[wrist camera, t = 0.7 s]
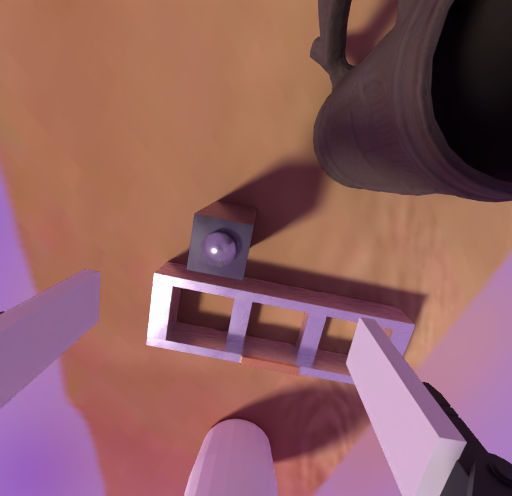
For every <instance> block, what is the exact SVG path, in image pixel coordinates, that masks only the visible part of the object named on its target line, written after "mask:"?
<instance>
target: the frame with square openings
mask: <svg viewBox="0 0 512 496" xmlns="http://www.w3.org/2000/svg"><path fill="white" fill-rule="evenodd" d="M181 288H185V289H190V290H195V291H200V292H205V293H210V294H216V295H221V296H226V297H231V298H235V300H234V305H233V310H232V315H231V320H230V326H229V331H223V330H217V329H212V328H207V327H202V326H197V325H192V324H186V323H181V322H177V315H178V308H179V301H180V294H181ZM252 302H256V303H261V304H266V305H271V306H277V307H282V308H287V309H292V310H297V311H302V312H305V313H304V317H303V321H302V324H301V328H300V332H299V335H298V339H297V343H296V345H295V344H290V343H284V342H279V341H274V340H269V339H264V338H259V337H253V336H248V335H245V334H246V329H247V325H248V320H249V316H250V311H251V306H252ZM326 317H332V318H338V319H343V320H348V321H353V322H358V321H359V318H360V317H363V318H369V319H375V321H376V322H377V323H378V325H379V326H380V327H381V329H382V330H383V331H384V333H385V334H386V335H387V337H388V338H389V339H390V341H391V342H392V343H393V345H394V346H395V347H396V349H397V350H398V351H399V353H400V354H401V355H402V357H403V355H404V353H405V350H406V348H407V345H408V343H409V340H410V337H411V335H412V332H413V330H414V327H415V324H414V323H413V322H412V321H411V320H410V319H409V318H408V317H407V316H406V315H405V314H404V313H403V312H402V311H401V310H400V309H399V308H398V307H395V306H390V305H385V304H380V303H375V302H369V301H364V300H359V299H354V298H349V297H344V296H339V295H334V294H329V293H324V292H319V291H314V290H309V289H304V288H299V287H294V286H289V285H284V284H279V283H274V282H269V281H264V280H259V279H254V278H249V277H244V278H243V281H242V280H237V279H232V278H227V277H222V276H217V275H212V274H207V273H201V272H196V271H191V270H187V265H183V264H178V263H173V262H168V261H167V262H166V263H165V264H164V265H163V266H162V267H161V268H160V269H159V270H157V271H156V272H155V273H154V281H153V290H152V299H151V308H150V317H149V326H148V335H147V344H146V345H150V346H156V347H161V348H166V349H171V350H176V351H182V352H187V353H192V354H197V355H202V356H208V357H213V358H218V359H223V360H229V361H234V362H239V363H240V365H245V366H250V367H256V368H261V369H266V370H271V371H276V372H282V373H287V374H292V375H297V376H298V374H302V375H307V376H312V377H317V378H323V379H328V380H333V381H338V382H343V383H349V384H354V381H353V379H352V377H351V374H350V372H349V370H348V367H347V365H346V361H347V358H348V355H346V354H341V353H336V352H331V351H326V350H320V349H317V348H318V344H319V341H320V338H321V334H322V331H323V327H324V324H325V321H326ZM354 385H355V384H354Z"/></svg>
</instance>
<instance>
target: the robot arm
mask: <svg viewBox="0 0 512 496" xmlns="http://www.w3.org/2000/svg"><path fill="white" fill-rule="evenodd" d="M99 301H100V272H98V271H93V270H87V269H84V270H83V271H81V272H79V273H77V274H75V275H73V276H71V277H69V278H68V279H66V280H64V281H62V282H60V283H58V284H56V285H54V286H53V287H51V288H49V289H47V290H45V291H43V292H41V293H39V294H38V295H36V296H34V297H32V298H30V299H28V300H26V301H25V302H23V303H21V304H19V305H17V306H15V307H13V308H11V309H10V310H8V311H6V312H4V311H3V312H0V409H1V408H2V407H3V406H4V405H5V404H6V403H7V402H9V401H10V400H11V399H12V398H13V397H14V396H15V395H16V394H18V393H19V392H20V391H21V390H22V389H23V388H24V387H25V386H27V385H28V384H29V383H30V382H31V381H32V380H33V379H34V378H35V377H37V376H38V375H39V374H40V373H41V372H42V371H43V370H44V369H46V368H47V367H48V366H49V365H50V364H51V363H52V362H53V361H55V360H56V359H57V358H58V357H59V356H60V355H61V354H62V353H64V352H65V351H66V350H67V349H68V348H69V347H70V346H71V345H73V344H74V343H75V342H76V341H77V340H78V339H79V338H80V337H82V336H83V335H84V334H85V333H86V332H87V331H88V330H89V329H90V328H92V327H93V326H94V325H95V324H96V323H97V322H98V321H99ZM346 365H347V367H348V370H349V372H350V374H351V377H352V379H353V381H354V384H355V386H356V388H357V391H358V393H359V395H360V398H361V400H362V402H363V405H364V407H365V409H366V412H367V414H368V416H369V419H370V421H371V423H372V426H373V428H374V431H375V433H376V435H377V438H378V440H379V442H380V444H381V447H382V449H383V452H384V454H385V456H386V459H387V461H388V463H389V466H390V468H391V470H392V473H393V475H394V477H395V480H396V482H397V484H398V487H399V489H400V492H401V494H402V496H512V464H511V463H509V462H508V461H506V460H505V459H502V458H500V457H498V456H497V455H494V454H491V453H488V452H487V451H486V449H485V448H484V447H483V446H482V444H481V443H480V442H479V441H478V439H477V438H476V437H475V436H474V434H473V433H472V432H471V431H470V429H469V428H468V427H467V426H466V424H465V423H464V422H463V421H462V419H461V418H459V417H458V414H457V413H456V412H455V411H454V409H453V408H451V407H450V404H449V403H448V402H447V401H446V400H445V398H444V397H443V396H442V394H441V393H439V392H438V391H437V390H436V389H435V388H434V387H432V386H431V385H430V384H429V383H425V382H421V380H420V379H419V378H418V376H417V375H416V374H415V372H414V371H413V370H412V369H411V367H410V366H409V365H408V363H407V362H406V361H405V359H404V358H403V357H402V355H401V354H400V353H399V351H398V350H397V349H396V347H395V346H394V345H393V343H392V342H391V341H390V339H389V338H388V337H387V335H386V334H385V333H384V331H383V330H382V329H381V327H380V326H379V325H378V323H377V322H376V321H375V319H369V318H363V317H360V318H359V321H358V325H357V328H356V331H355V334H354V338H353V341H352V344H351V348H350V351H349V354H348V358H347V361H346Z"/></svg>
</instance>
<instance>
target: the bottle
mask: <svg viewBox="0 0 512 496" xmlns="http://www.w3.org/2000/svg"><path fill="white" fill-rule="evenodd" d="M184 496H278V490H277V482H276V477H275V471H274V465H273V460H272V454H271V448H270V444H269V439H268V438H267V436H266V434H265V433H264V431H263V430H262V429H261V428H259V427H258V426H257V425H255V424H254V423H252V422H249V421H247V420H242V419H229V420H225V421H223V422H220V423H218V424H217V425H215V426H214V427H213V428H212V429H211V430H210V431H208V433H207V435H206V437H205V439H204V441H203V444H202V446H201V449H200V451H199V454H198V457H197V459H196V462H195V464H194V467H193V469H192V472H191V474H190V477H189V481H188V484H187V487H186V491H185V494H184Z"/></svg>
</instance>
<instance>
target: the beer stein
mask: <svg viewBox="0 0 512 496" xmlns="http://www.w3.org/2000/svg"><path fill="white" fill-rule="evenodd" d="M351 1H352V0H318V12H319V26H320V37H317V38H316V39H315V40H314V42H313V44H312V47H311V51H310V57H311V58H312V59H313V60H315V61H316V62H317V63H318V64H320V65H321V66H322V67H323V68H324V70H325V71H326V72H327V73H328V74H329V75H330V79H331V82H332V86H333V88H332V93H331V94H330V95H329V96H328V97H327V99H326V101H325V102H324V104H323V105H322V107H321V109H320V111H319V113H318V116H317V118H316V122H315V125H314V138H313V143H314V150H315V154H316V156H317V159H318V161H319V163H320V165H321V167H322V169H323V170H324V171H325V172H326V173H327V174H328V175H329V176H330V177H331V178H332V179H333V180H335V181H336V182H338V183H340V184H342V185H344V186H347V187H351V188H357V189H367V190H372V191H378V192H389V193H397V194H401V195H416V196H420V195H428V194H434V193H438V194H446V195H455V196H458V197H461V198H466V199H471V200H477V201H484V202H504V201H512V0H397V2H398V16H397V21H396V24H395V26H394V27H393V29H392V30H391V31H390V32H389V33H388V34H386V35H385V36H384V38H383V39H382V40H381V41H380V42H379V43H378V44H377V45H376V46H375V47H374V48H373V50H372V51H371V52H370V53H369V54H368V55H367V56H366V57H365V58H364V59H363V60H362V61H361V62H360V63H359V64H358V65H357V66H352V65H350V64H349V63H348V62H347V60H346V56H345V47H346V34H347V22H348V16H349V11H350V5H351Z"/></svg>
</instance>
